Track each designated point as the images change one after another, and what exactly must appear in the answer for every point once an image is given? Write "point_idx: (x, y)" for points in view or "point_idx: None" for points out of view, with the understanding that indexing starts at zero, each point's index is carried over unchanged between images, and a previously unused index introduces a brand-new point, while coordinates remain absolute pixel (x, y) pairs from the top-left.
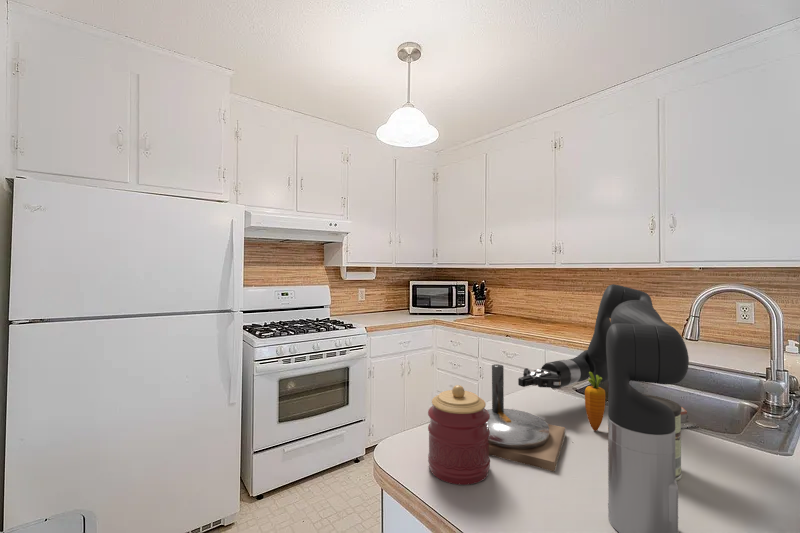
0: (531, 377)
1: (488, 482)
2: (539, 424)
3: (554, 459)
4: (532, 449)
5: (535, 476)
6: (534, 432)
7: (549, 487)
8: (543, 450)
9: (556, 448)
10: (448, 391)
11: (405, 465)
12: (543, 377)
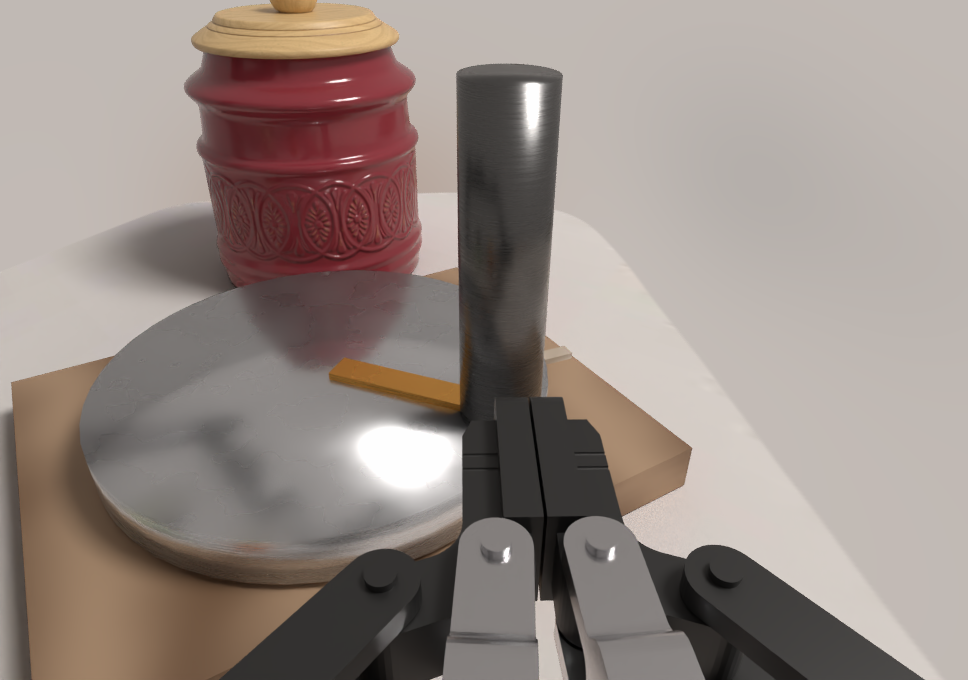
0: (503, 519)
1: (211, 276)
2: (169, 461)
3: (16, 395)
4: None
5: (92, 361)
6: (150, 383)
7: (23, 354)
8: None
9: (29, 461)
10: (359, 12)
11: (430, 211)
12: (361, 645)
